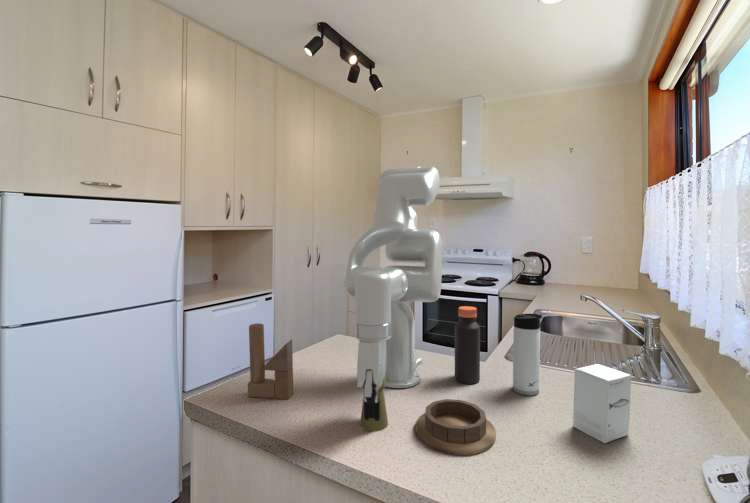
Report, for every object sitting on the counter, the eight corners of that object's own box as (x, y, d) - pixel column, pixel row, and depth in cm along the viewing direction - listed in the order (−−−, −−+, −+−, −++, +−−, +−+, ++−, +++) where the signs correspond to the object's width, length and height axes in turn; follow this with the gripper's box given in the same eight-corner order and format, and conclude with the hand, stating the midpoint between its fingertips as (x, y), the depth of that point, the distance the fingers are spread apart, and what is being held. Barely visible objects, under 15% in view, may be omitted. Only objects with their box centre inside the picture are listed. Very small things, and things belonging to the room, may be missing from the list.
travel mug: (538, 398, 92) (539, 317, 90) (510, 392, 95) (511, 314, 94) (542, 389, 97) (543, 312, 96) (515, 383, 100) (516, 309, 99)
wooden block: (288, 400, 92) (286, 328, 91) (247, 397, 93) (245, 326, 92) (293, 393, 95) (292, 324, 94) (254, 391, 97) (252, 322, 96)
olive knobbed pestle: (392, 420, 82) (392, 370, 81) (381, 433, 76) (380, 381, 76) (367, 414, 84) (367, 366, 84) (355, 427, 79) (354, 376, 78)
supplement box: (605, 445, 72) (607, 380, 71) (571, 426, 79) (573, 367, 78) (630, 436, 75) (632, 374, 74) (595, 419, 82) (597, 362, 81)
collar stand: (440, 405, 88) (440, 389, 88) (507, 428, 78) (508, 409, 78) (400, 434, 76) (400, 415, 76) (474, 466, 66) (474, 444, 65)
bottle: (449, 379, 103) (450, 308, 102) (462, 372, 108) (462, 304, 107) (472, 386, 98) (472, 311, 97) (484, 379, 103) (484, 307, 102)
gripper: (363, 319, 88) (364, 395, 89) (346, 341, 71) (347, 433, 73) (395, 320, 87) (395, 397, 88) (385, 342, 70) (385, 437, 71)
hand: (374, 413), depth 80 cm, fingers closed on olive knobbed pestle, 4 cm apart
